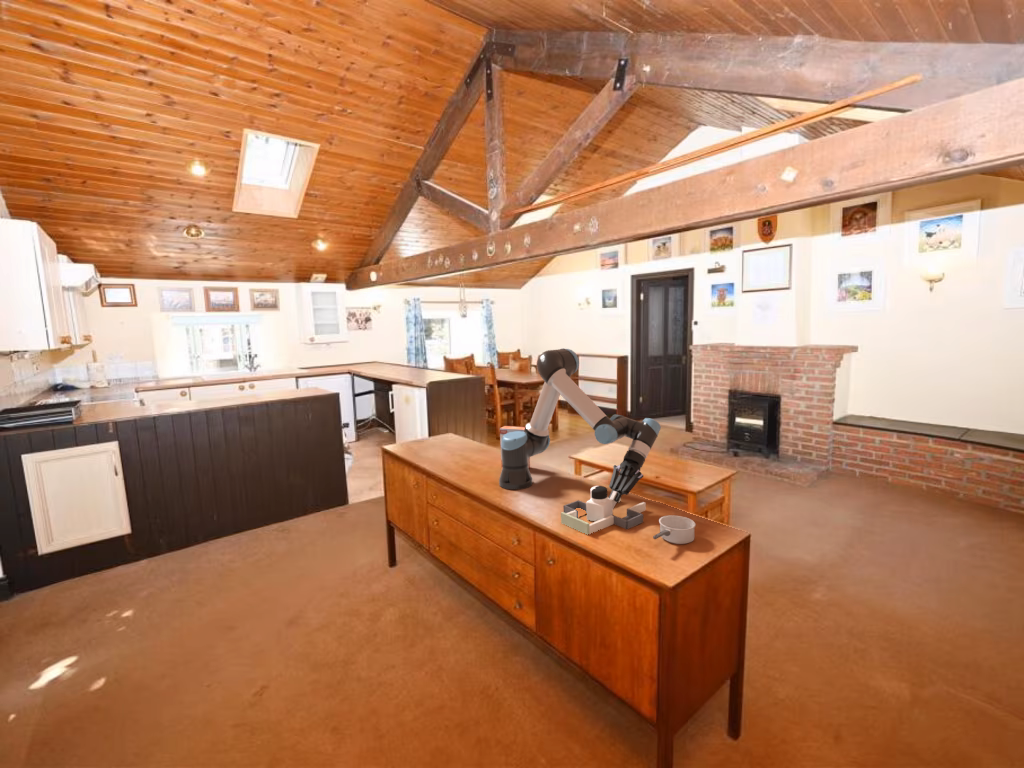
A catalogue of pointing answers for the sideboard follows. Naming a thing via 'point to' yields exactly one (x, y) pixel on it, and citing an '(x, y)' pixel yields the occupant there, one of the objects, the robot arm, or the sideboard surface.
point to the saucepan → (676, 529)
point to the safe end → (575, 523)
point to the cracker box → (506, 430)
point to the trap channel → (626, 522)
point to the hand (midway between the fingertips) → (609, 507)
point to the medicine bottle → (598, 504)
